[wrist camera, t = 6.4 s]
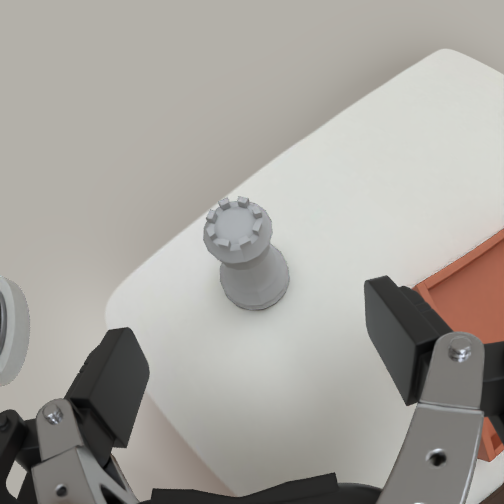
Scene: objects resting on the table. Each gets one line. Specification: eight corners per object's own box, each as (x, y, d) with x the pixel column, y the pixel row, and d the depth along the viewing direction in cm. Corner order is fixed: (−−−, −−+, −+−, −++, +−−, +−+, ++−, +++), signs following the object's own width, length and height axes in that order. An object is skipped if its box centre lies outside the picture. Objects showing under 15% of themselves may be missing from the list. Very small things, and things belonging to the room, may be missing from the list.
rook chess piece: (297, 301, 20) (298, 251, 13) (230, 319, 20) (192, 280, 13) (279, 241, 22) (269, 168, 15) (217, 258, 22) (179, 194, 15)
